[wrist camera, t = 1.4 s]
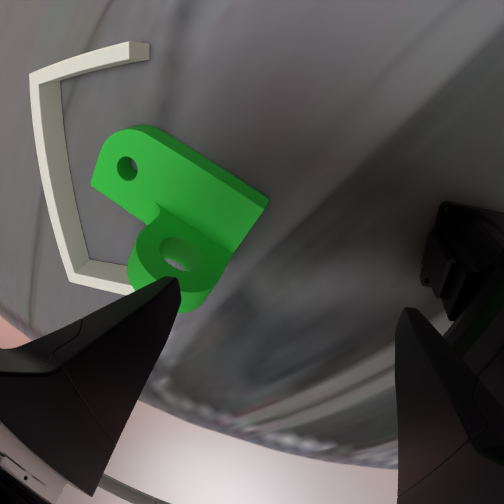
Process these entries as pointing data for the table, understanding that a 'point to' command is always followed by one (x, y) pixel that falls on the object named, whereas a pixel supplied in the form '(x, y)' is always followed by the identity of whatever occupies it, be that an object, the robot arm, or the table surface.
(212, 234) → the mechanical part
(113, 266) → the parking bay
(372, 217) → the table surface
